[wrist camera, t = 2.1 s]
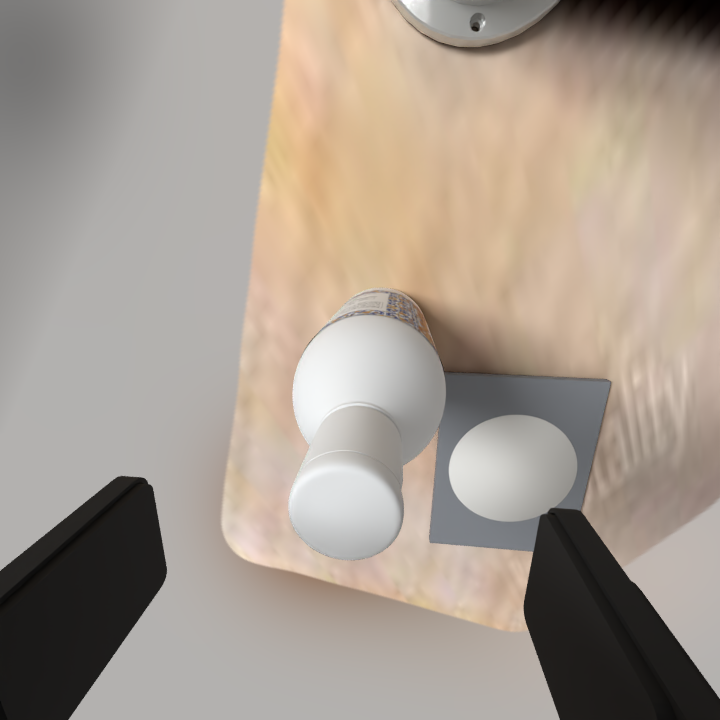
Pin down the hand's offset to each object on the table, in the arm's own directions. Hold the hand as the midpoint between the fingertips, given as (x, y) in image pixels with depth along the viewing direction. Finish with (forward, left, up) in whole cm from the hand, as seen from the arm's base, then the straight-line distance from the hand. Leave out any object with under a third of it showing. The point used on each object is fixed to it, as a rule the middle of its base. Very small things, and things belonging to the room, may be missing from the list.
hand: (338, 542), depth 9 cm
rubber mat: (+11, +11, -20) cm, 25 cm away
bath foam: (0, 0, -21) cm, 21 cm away
